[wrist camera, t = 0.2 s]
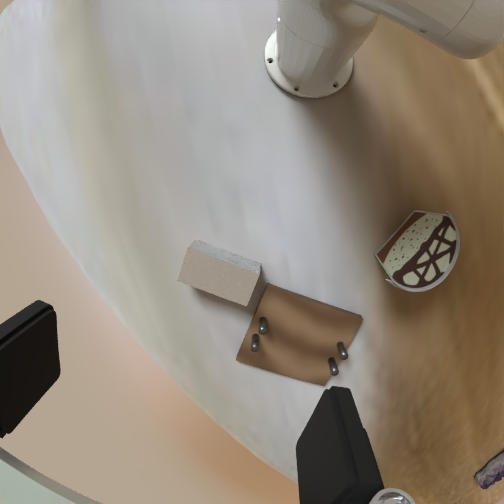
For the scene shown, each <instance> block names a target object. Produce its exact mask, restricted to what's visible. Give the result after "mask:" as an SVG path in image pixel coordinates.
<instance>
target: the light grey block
mask: <svg viewBox="0 0 504 504" xmlns="http://www.w3.org/2000/svg"><path fill="white" fill-rule="evenodd" d="M260 266H261V263H259V262H256V261H253V260H251V259H248V258H245V257H242V256H240V255H237V254H234V253H232V252H229V251H226V250H224V249H221V248H218V247H216V246H213V245H210V244H208V243H205V242H202V241H200V240H197V239H196V240H195V241H194V242H193V243H192V244H191V245H190V246H189V247H188V249H187V252H186V255H185V258H184V262H183V265H182V268H181V271H180V275H179V278H178V281H180V282H182V283H185V284H187V285H190V286H193V287H195V288H198V289H200V290H203V291H206V292H208V293H211V294H214V295H216V296H219V297H222V298H224V299H227V300H230V301H233V302H235V303H238V304H241V305H244V306H247V305H248V302H249V300H250V297H251V295H252V292H253V290H254V287H255V285H256V282H257V280H258V278H259V275H260Z"/></svg>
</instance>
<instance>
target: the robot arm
mask: <svg viewBox="0 0 504 504" xmlns="http://www.w3.org/2000/svg"><path fill="white" fill-rule="evenodd" d="M378 14H379V15H381V16H383V17H386V18H388V19H390V20H391V21H393V22H395V23H397V24H399V25H401V26H403V27H405V28H407V29H408V30H410V31H412V32H414V33H415V34H417V35H419V36H421V37H422V38H424V39H426V40H427V41H429V42H431V43H433V44H434V45H436V46H437V47H439V48H441V49H443V50H444V51H446V52H448V53H450V54H452V55H454V56H457V57H459V58H463V59H477V58H480V57H483V56H485V55H486V54H488V53H489V52H491V51H492V50H493V49H494V48H495V47H496V46H497V45H498V44H499V43H500V42H501V41H502V40H503V39H504V0H278V13H277V30H275V31H274V32H273V33H272V34H271V36H270V37H269V39H268V40H267V42H266V46H265V49H264V62H265V66H266V69H267V71H268V73H269V75H270V77H271V78H272V79H273V80H274V82H275V83H276V84H277V85H279V86H280V87H281V88H282V89H284V90H285V91H287V92H289V93H291V94H294V95H296V96H300V97H304V98H322V97H325V96H329V95H331V94H333V93H335V92H337V91H338V90H339V89H341V88H342V87H343V86H344V85H345V84H346V82H347V81H348V79H349V78H350V75H351V73H352V69H353V57H352V56H353V55H354V54H355V52H356V51H357V50H358V49H359V47H360V46H361V45H362V43H363V42H364V41H365V40H366V38H367V37H368V36H369V34H370V33H371V32H372V30H373V29H374V27H375V25H376V22H377V19H378ZM269 61H271V62H272V63H269ZM333 85H335V86H336V88H335V87H333ZM295 89H298V91H295ZM57 338H58V337H57V317H56V312H55V311H54V309H53V306H51V305H50V304H47V303H45V302H43V301H41V300H37V301H35V302H34V303H32V304H31V305H29V306H27V307H26V308H24V309H23V310H21V311H20V312H18V313H17V314H16V315H14V316H12V317H11V318H9V319H8V320H6V321H5V322H3V323H2V324H0V438H3V437H4V436H5V435H6V433H7V434H9V433H11V432H12V431H13V430H14V429H15V428H16V426H17V425H18V424H19V423H20V422H21V420H22V419H23V418H24V417H25V416H26V415H27V414H28V412H29V411H30V410H31V409H32V408H33V407H34V405H35V404H36V403H37V402H38V401H39V400H40V399H41V397H42V396H43V395H44V394H45V393H46V392H47V391H48V390H49V388H50V387H51V386H52V385H53V384H54V383H55V382H56V381H57V379H58V378H59V376H60V361H59V351H58V339H57ZM296 458H297V471H298V484H299V498H300V504H415V502H414V500H413V499H412V498H411V496H410V495H409V494H407V493H406V492H404V491H402V490H400V489H396V488H387V489H385V488H384V485H383V482H382V478H381V475H380V472H379V469H378V466H377V462H376V459H375V456H374V453H373V450H372V447H371V444H370V441H369V438H368V435H367V432H366V430H365V429H364V428H363V426H362V423H361V420H360V417H359V414H358V411H357V408H356V405H355V402H354V399H353V396H352V393H351V391H350V389H349V388H344V387H337V386H332V387H331V388H330V389H329V390H328V389H326V390H325V391H324V392H323V394H322V396H321V398H320V400H319V402H318V404H317V406H316V408H315V410H314V412H313V414H312V416H311V418H310V419H309V421H308V423H307V425H306V427H305V429H304V430H303V432H302V434H301V436H300V438H299V439H298V442H297V445H296ZM0 504H102V503H99V502H97V501H95V500H92V499H90V498H88V497H86V496H84V495H81V494H79V493H77V492H75V491H73V490H71V489H69V488H67V487H65V486H63V485H61V484H60V483H57V482H56V481H54V480H52V479H50V478H49V477H47V476H45V475H43V474H41V473H40V472H38V471H36V470H35V469H33V468H31V467H30V466H28V465H26V464H25V463H23V462H22V461H20V460H19V459H17V458H16V457H14V456H13V455H11V454H10V453H8V452H7V451H5V450H4V449H2V448H1V447H0Z"/></svg>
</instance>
